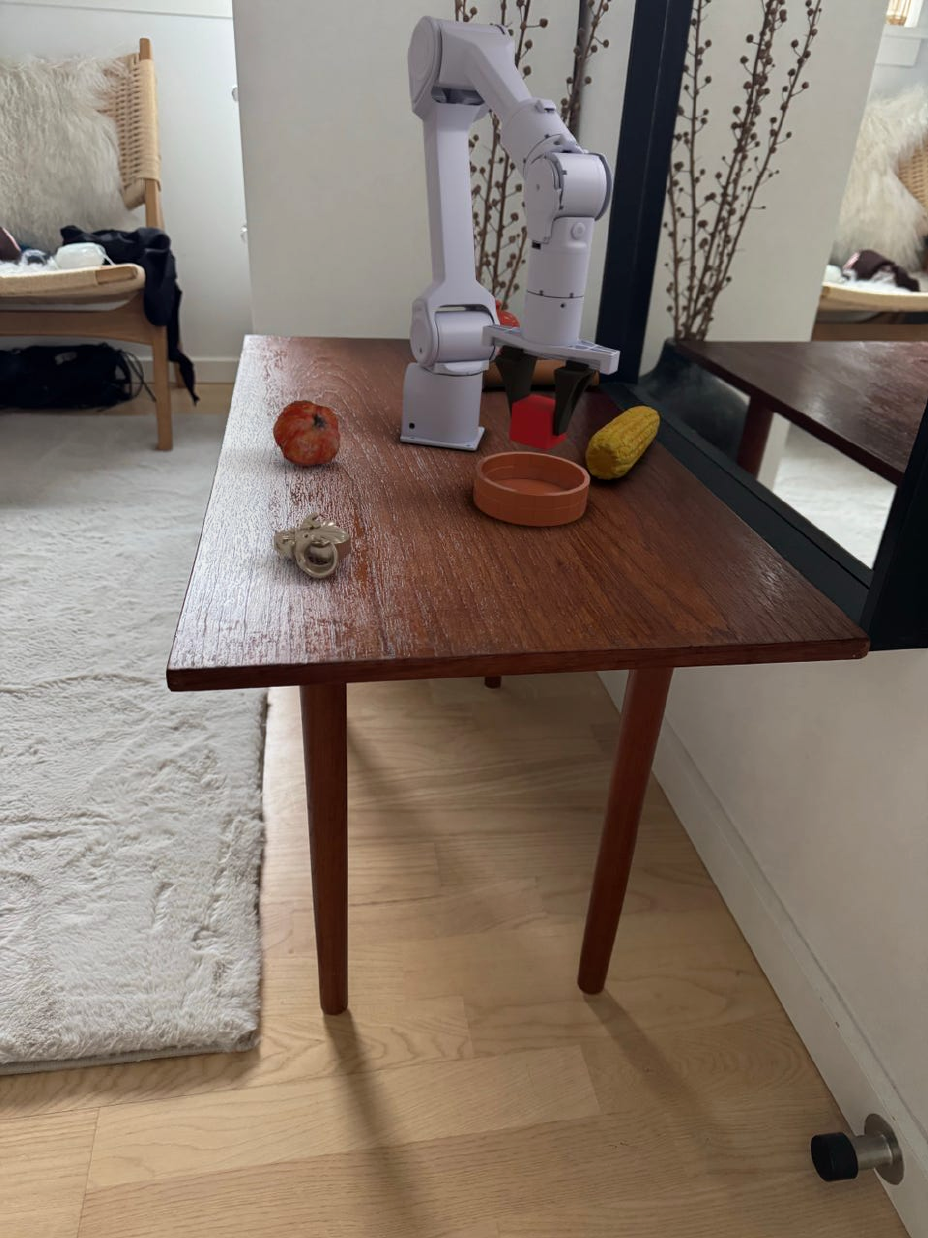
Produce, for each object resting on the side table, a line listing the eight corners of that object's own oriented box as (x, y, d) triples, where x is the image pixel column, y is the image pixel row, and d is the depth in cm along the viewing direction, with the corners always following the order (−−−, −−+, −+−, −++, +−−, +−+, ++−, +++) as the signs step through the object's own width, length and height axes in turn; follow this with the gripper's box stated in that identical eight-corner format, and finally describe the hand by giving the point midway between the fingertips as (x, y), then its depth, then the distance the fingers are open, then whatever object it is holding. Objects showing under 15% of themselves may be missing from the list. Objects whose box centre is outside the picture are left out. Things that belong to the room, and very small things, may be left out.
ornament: (278, 539, 84) (277, 504, 82) (351, 542, 85) (351, 507, 83) (269, 580, 77) (267, 543, 76) (348, 583, 78) (348, 545, 76)
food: (623, 492, 101) (632, 442, 98) (576, 481, 103) (583, 432, 99) (662, 438, 118) (671, 394, 115) (621, 430, 119) (628, 386, 116)
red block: (508, 440, 93) (512, 403, 91) (529, 430, 96) (533, 393, 94) (545, 450, 91) (550, 412, 89) (565, 440, 94) (570, 403, 92)
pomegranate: (266, 477, 103) (284, 451, 94) (263, 416, 103) (280, 384, 94) (329, 479, 106) (352, 454, 97) (325, 419, 106) (348, 389, 97)
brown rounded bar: (579, 372, 141) (592, 341, 135) (589, 407, 138) (603, 376, 132) (469, 372, 136) (478, 340, 130) (477, 408, 133) (487, 376, 127)
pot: (464, 517, 92) (467, 485, 90) (482, 474, 102) (484, 445, 100) (582, 533, 91) (587, 501, 89) (587, 488, 101) (592, 459, 99)
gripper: (640, 299, 86) (617, 434, 93) (511, 275, 92) (499, 403, 99) (609, 309, 81) (588, 452, 87) (475, 283, 87) (465, 418, 94)
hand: (538, 427), depth 93 cm, fingers closed on red block, 4 cm apart
